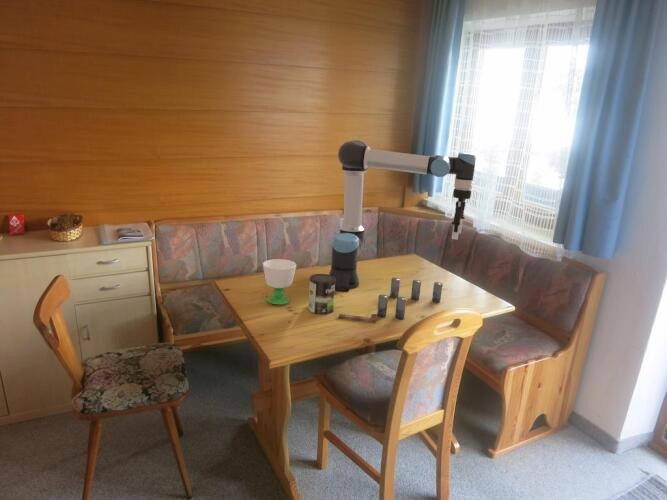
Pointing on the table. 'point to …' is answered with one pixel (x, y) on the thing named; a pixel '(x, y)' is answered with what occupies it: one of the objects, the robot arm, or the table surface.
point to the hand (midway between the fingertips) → (456, 236)
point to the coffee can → (321, 294)
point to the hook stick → (359, 318)
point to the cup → (279, 278)
